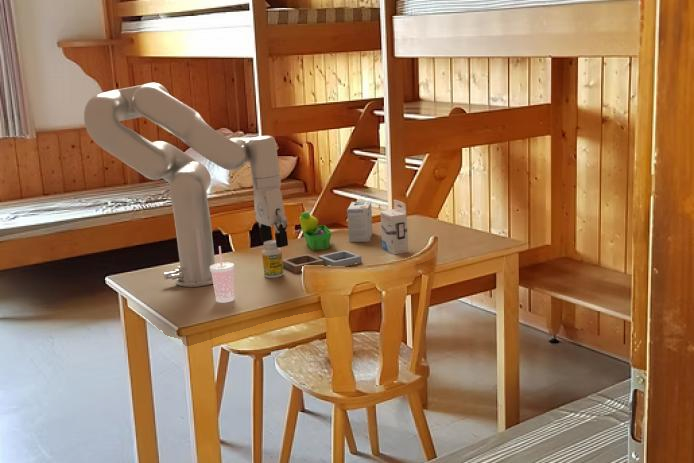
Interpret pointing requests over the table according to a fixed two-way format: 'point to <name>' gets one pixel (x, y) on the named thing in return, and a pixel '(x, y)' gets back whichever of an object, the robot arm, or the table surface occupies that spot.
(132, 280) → the table surface
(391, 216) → the ink box
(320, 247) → the fruit basket
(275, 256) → the supplement bottle
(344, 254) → the grey collar
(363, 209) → the light bulb box
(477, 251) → the table surface
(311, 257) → the walnut collar
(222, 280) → the beverage cup
